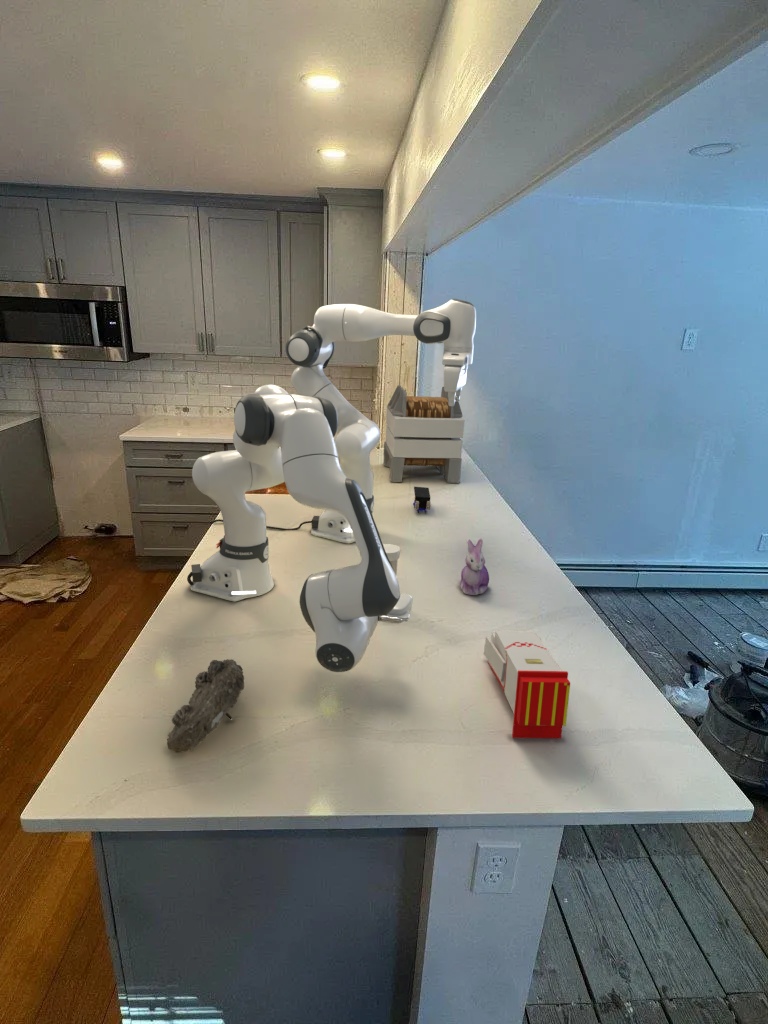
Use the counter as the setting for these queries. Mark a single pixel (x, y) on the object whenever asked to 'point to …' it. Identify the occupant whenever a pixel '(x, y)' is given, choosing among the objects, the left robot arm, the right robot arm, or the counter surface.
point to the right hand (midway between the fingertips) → (454, 403)
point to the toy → (529, 683)
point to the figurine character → (421, 499)
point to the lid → (392, 551)
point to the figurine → (474, 571)
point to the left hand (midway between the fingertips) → (372, 586)
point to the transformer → (423, 434)
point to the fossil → (206, 705)
